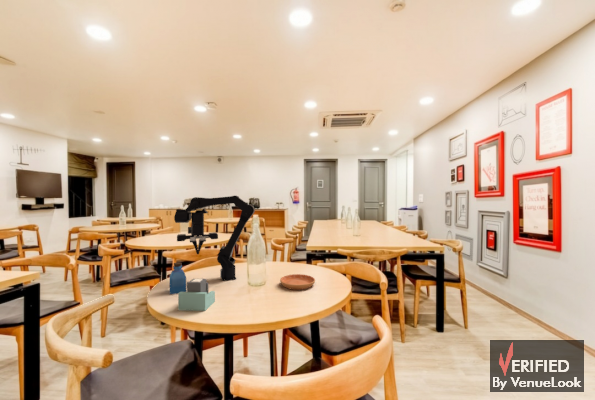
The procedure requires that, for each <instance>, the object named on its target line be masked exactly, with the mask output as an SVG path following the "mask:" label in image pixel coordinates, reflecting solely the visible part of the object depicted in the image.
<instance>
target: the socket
mask: <svg viewBox="0 0 595 400" xmlns="http://www.w3.org/2000/svg"><path fill="white" fill-rule="evenodd" d="M177 294H178V295H177V297H178V298H177V301H178V302H177V304H178V306H177V307H178V308H177V310H178V311H192V312H193V311H194V312H195V311H197V312H198V311H200V312H205V311H207V310H208V309H209V308H210V307H211V306H212V305H213V304H214V303H215V302H216V297H215V296H216V295H215V294H216V291H215V290H210V291H208V294H207V292H187V291H186V292H179V293H177Z"/></svg>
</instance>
